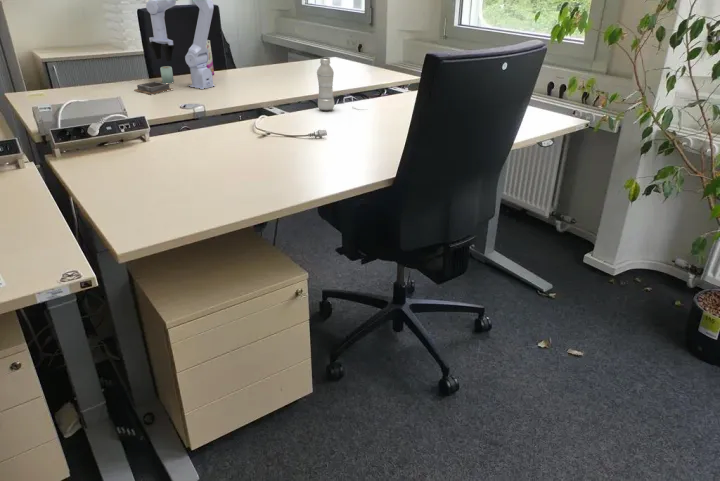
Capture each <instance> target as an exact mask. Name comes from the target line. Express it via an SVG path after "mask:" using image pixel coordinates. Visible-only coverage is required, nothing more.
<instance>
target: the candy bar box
mask: <svg viewBox="0 0 720 481" xmlns="http://www.w3.org/2000/svg"><path fill="white" fill-rule="evenodd" d="M206 48H207V49H208V50H209V51H208V57H209V60H208V62H207V66H206V67H207V68H208V69H210V70H211V72H212V77H213V76H214V75H215V70H214V69H215V68H214V62H213V54H212V53H213V52H212V47H211V40H209V39H207V43H206Z"/></svg>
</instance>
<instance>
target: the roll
mask: <svg viewBox="0 0 720 481" xmlns="http://www.w3.org/2000/svg"><path fill="white" fill-rule="evenodd" d="M159 68H160V75H161V81H162V82H161V83H172V82H174V83H175V79H174V74H173V68H172V66H169V65H167V66H165V65H164V66H161V67H159ZM172 84H173V83H172Z"/></svg>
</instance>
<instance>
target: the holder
mask: <svg viewBox="0 0 720 481" xmlns="http://www.w3.org/2000/svg"><path fill="white" fill-rule="evenodd" d="M136 87H137V89H134V90H133V91H134V92H136V91H137V93H140V92H141V94H144V93H146V94H145V95H149V94H154V95H156V94H155V93H158V94H160V93H159V92H163V91H167V90H171V89H174V88H172V87H170V84H166V83H162V82H161V81H155V80H154V81H151V82H144V83H139V84H137V85H136ZM167 92H168V91H167ZM163 93H164V92H163Z"/></svg>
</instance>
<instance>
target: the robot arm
mask: <svg viewBox="0 0 720 481" xmlns="http://www.w3.org/2000/svg"><path fill="white" fill-rule="evenodd" d="M191 1H192V2H193V4H195V5H196V6H197V7H198V9H199V11H198V16H197V22H196V27H195V32H194V36H193V37H194V38H193V41H192V44H191V46H190V47H189V48H188V51H187V53H186V54H185V56H184V59H185V63H186V65H188V68H189V71H190V78H191V84H189V85H187V86H188V87H189V86H190V88H193V87H195V88H194V89H198V88H200V89H199V90H204V88H205V89H209V88H212V87H213V86H214V87H215V86H216V85H215V84H214V80H213V79H214V78H213V76H212V72H211V70H210V69H208V68H207V67H206V66H207V62H208V60H209V57H208V51H209V50H208V49H207V48H206V43H207V40H208V37H209V33H210V27H211V22H212V19H213V14H214V8H215V7H214V1H213V0H191ZM177 2H178V0H148V1H147V2H146V3H145V4H146V5H145V8H146V11H147V12H148V13H149V14H150V20H151V26H152V33H153V36H152V37H151V36H150V37H148V38H149V44H148V45H149V47H150V48H151V50H152V52H153V53H154V54H153V55H154V56H155V58H156V60H161V59H162V50H163V52H164V55H165V59H166V62H172V59H173V58H172V57H173V52H174V49H175V44H174V40H172V39H169V38H168V34H167V28H166V21H165V13H166V10H168V9H171V8H173V7H174V6H176V3H177ZM214 87H213V88H214Z"/></svg>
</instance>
